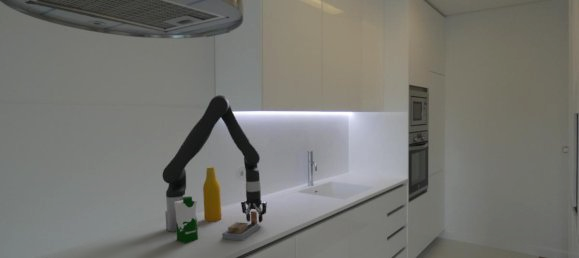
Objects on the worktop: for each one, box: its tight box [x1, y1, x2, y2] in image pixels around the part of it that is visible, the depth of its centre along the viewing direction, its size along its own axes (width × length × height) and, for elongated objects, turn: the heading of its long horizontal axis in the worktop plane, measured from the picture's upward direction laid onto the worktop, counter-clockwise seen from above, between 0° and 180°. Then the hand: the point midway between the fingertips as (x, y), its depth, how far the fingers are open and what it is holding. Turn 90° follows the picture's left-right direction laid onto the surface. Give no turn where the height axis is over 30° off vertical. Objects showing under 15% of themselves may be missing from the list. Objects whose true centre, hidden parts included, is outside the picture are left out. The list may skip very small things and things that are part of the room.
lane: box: [221, 223, 260, 241], centre depth 171 cm, size 10×17×2 cm, turn 159°
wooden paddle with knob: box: [227, 210, 258, 234], centre depth 175 cm, size 6×23×7 cm, turn 160°
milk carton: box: [174, 196, 199, 244], centre depth 165 cm, size 9×9×20 cm
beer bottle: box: [202, 166, 222, 223], centre depth 196 cm, size 9×9×29 cm
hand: (254, 221), depth 184 cm, fingers open, 6 cm apart
